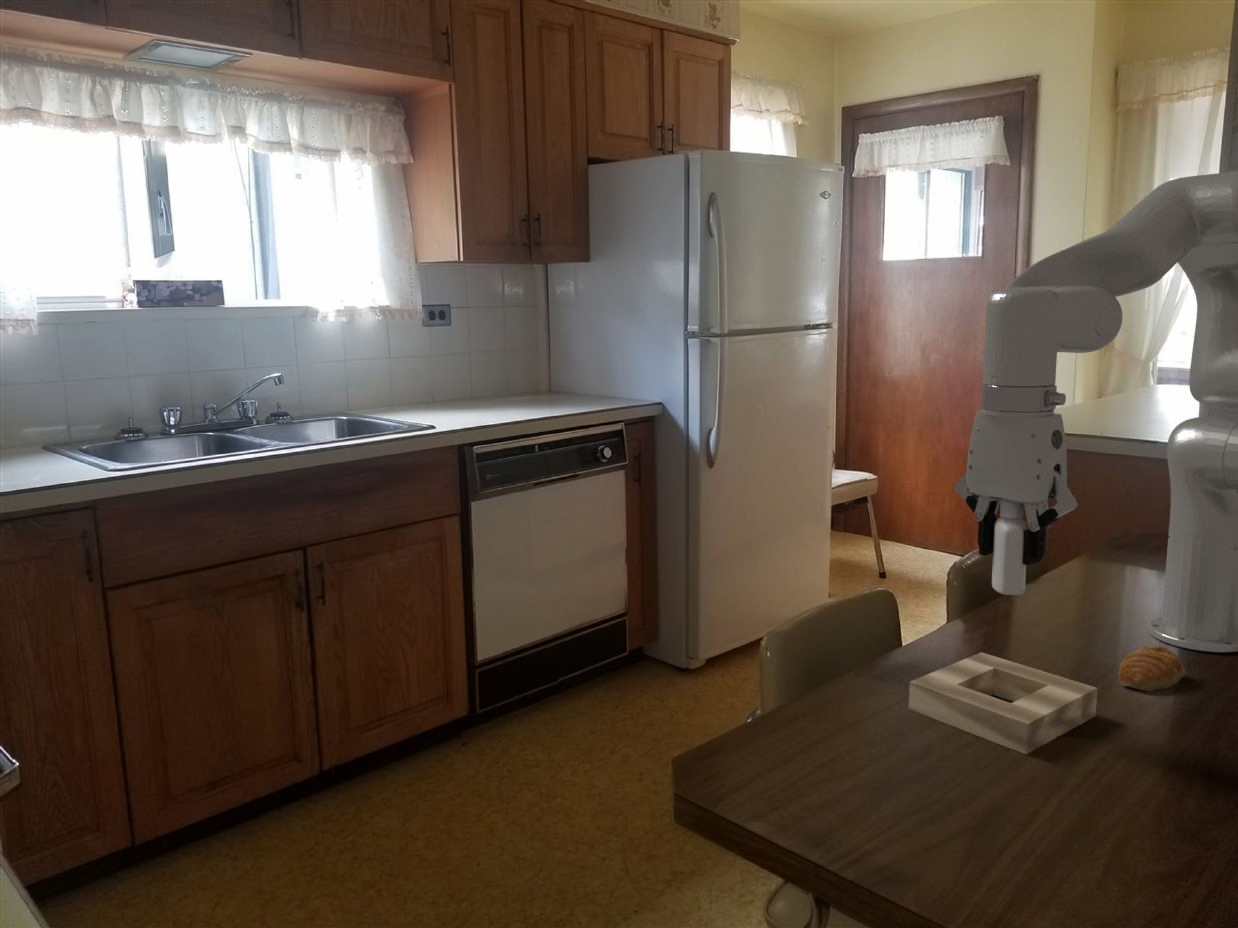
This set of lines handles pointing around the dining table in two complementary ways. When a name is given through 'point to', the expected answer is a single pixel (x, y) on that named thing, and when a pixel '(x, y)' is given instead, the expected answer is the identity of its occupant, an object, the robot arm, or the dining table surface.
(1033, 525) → the robot arm
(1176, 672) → the pastry
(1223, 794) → the dining table surface
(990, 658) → the rectangular frame
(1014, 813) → the dining table surface
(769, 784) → the dining table surface
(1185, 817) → the dining table surface
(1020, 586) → the eye dropper bottle
